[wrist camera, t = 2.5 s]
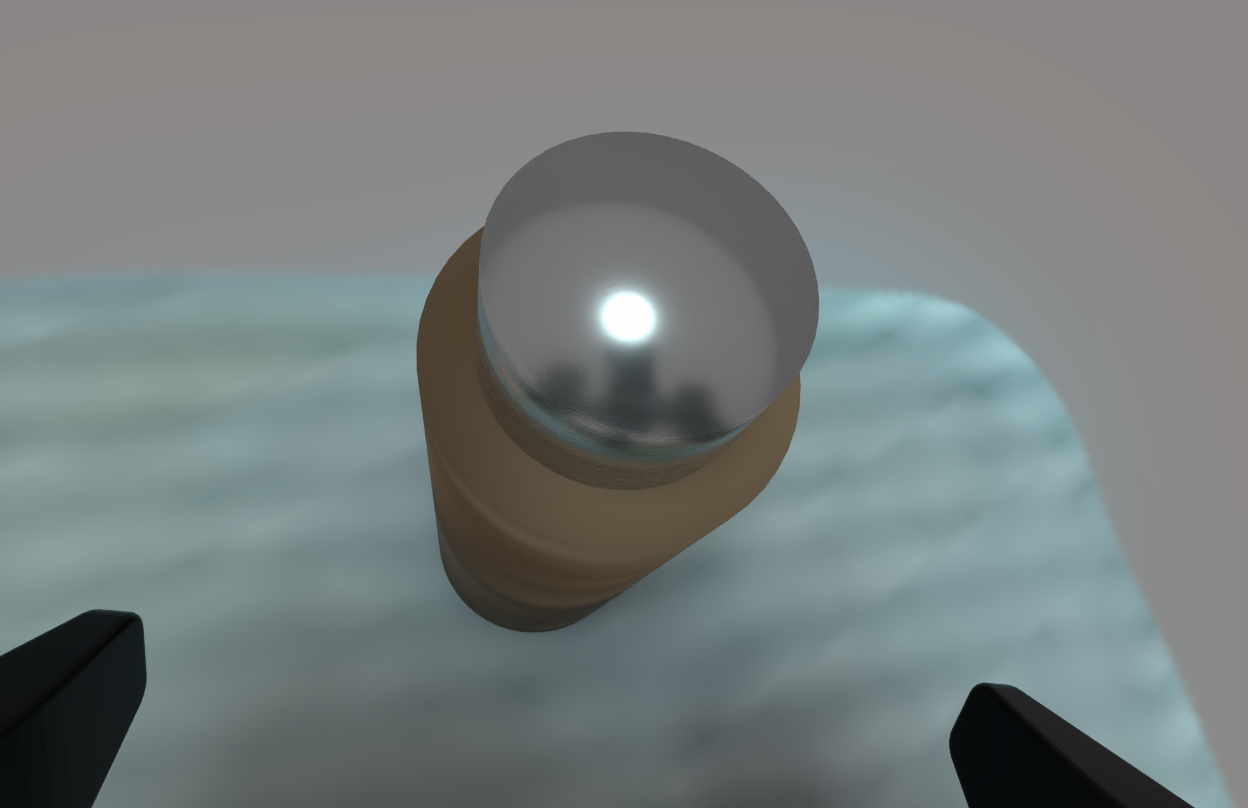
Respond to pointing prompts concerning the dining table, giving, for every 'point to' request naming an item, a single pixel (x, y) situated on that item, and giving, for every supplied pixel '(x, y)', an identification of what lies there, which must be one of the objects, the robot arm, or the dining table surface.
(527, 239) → the pepper mill
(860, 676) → the dining table surface
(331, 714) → the dining table surface
